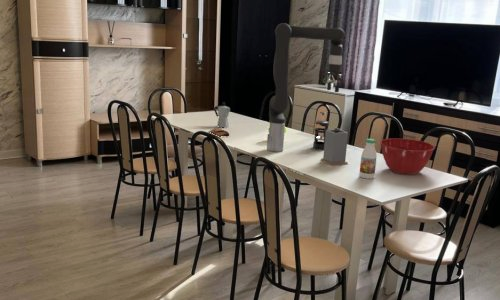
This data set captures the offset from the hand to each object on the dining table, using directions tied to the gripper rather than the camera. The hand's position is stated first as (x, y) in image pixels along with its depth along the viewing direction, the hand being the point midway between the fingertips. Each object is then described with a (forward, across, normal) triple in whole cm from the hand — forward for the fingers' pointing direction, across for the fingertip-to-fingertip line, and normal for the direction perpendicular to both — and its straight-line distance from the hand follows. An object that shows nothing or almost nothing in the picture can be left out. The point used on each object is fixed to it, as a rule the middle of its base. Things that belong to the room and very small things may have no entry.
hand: (332, 91), depth 303 cm
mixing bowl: (+38, +44, +22) cm, 62 cm away
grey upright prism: (+38, +19, -7) cm, 43 cm away
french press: (+38, -14, +4) cm, 41 cm away
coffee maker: (+38, -88, -36) cm, 103 cm away
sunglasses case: (+39, -63, -48) cm, 88 cm away
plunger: (+33, +19, -7) cm, 38 cm away
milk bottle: (+38, +49, -6) cm, 62 cm away
